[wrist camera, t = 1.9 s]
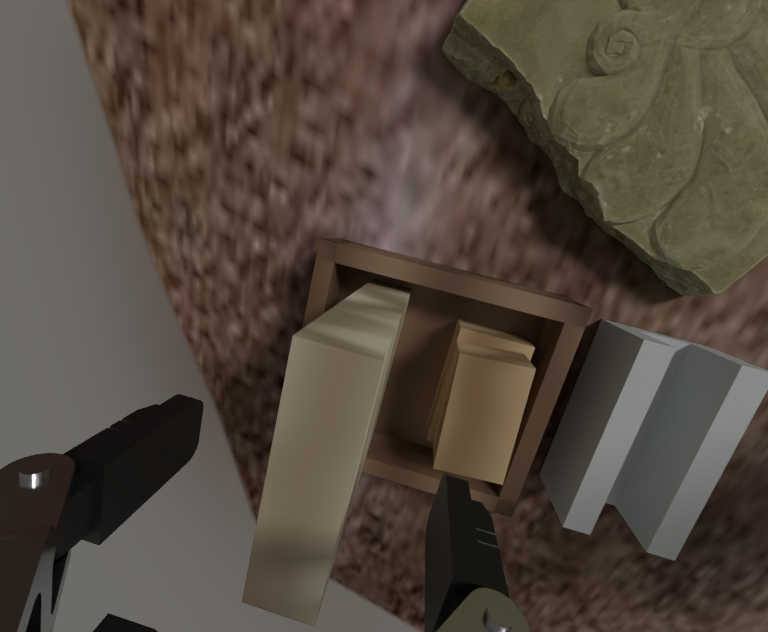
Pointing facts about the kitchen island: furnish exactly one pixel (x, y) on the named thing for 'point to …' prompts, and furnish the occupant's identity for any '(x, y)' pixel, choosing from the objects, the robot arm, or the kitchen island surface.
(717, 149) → the decorative tile
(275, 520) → the birch sheet
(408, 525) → the kitchen island surface
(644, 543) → the slot stand
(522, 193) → the kitchen island surface
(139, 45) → the kitchen island surface
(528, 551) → the kitchen island surface
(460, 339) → the oak offcut lower
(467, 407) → the oak offcut upper
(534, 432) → the wooden tray
